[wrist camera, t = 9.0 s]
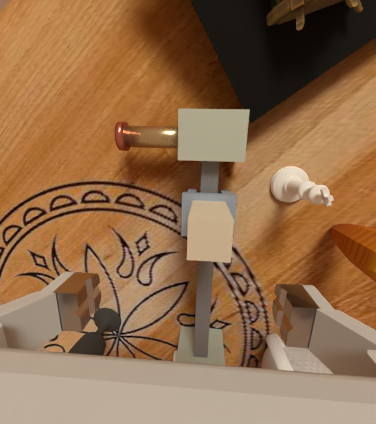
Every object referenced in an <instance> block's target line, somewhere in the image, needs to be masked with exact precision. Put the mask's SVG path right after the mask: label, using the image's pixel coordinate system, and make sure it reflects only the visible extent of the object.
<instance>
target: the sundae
mask: <svg viewBox="0 0 376 424" xmlns="http://www.w3.org/2000/svg"><path fill="white" fill-rule="evenodd" d="M94 322H95V324H96V326H97V327H98V330H97V331H96V332H90V333H86V334H85V335H84V336H83V337H82V338H81V339H80V340H79V341H78V342H77V343H76V344H75V345H74V346H73V347H72V348H71V350H70V351H69V352H68V353H74V354H87V355H99V356H103V354H104V351H105V347H106V343H105V340H104V337H103V336H102V335H103V333H104V332H105V331H108V332H112V331H115V330H117V329H118V328H119V327H120V325H121V319H120V317H119V315H118V314H117V313H116V312H115V311H114V310H112V309H108V308H102V309H99V310H97V311H96V312H95V314H94Z"/></svg>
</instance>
